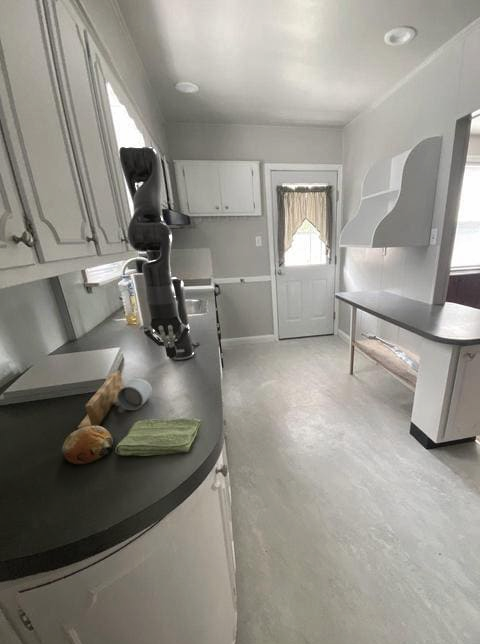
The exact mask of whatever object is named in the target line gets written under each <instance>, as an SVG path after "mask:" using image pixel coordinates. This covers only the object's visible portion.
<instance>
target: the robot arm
mask: <svg viewBox="0 0 480 644" xmlns="http://www.w3.org/2000/svg"><path fill="white" fill-rule="evenodd" d="M118 156H119V157H118V158H119V163H120V166H121V170H122V173H123V176H124V179H125V182H126V186H127V188H128V192H129V194H130V198H131V201H132V204H133V215H132V216H131V219H130V221H129V224H128V226H127V231H126V232H127V234H126V235H127V240H128V244H129V245H130V246H131V248H132V249H133V250H135V251H137V252H140V253H145V254H146V256H147V260H148V261H145V262H144V263H142V265H141V270H142V274H143V279H144V284H145V295H146V301H147V305H148V310H149V315H150V322H149V323H150V324H149V325H150V326H149V327H147V328H145V330H144V331H143V333H144V335H145V336H146V337H147V338H149V339H150V340H151V341H153V342H154V344H156V345H157V346H159V347H164V348H165V355H166V357H167V358H169V359H170V360H174V361H184V360H188V359H192V358H193V357H194V355H195V354H194V349H193V347H197V346H199V344H200V342H199V341H197V342H196V343H194V342H192V341H193V340H192V336H191V330H190V322H189V318H188V317H189V316H188V309H187V304H186V303H187V302H186V291H185V286H184V281H183V279H182V278H181V277H172V272H171V251H172V244H173V232H172V230H171V228H170V227H169V226H168V224H167V223H166V220H164V218H163V211H162V203H161V199H162V198H161V197H162V190H163V189H162V188H163V187H162V186H163V169H162V164H161V160H160V156H159V154H158V152H157V150H156V149H154V147H149V146H148V147H147V146H121V147H119V150H118ZM139 184H140V185H139ZM156 333H157V334H158V335H157V334H156ZM159 335H160V336H159Z"/></svg>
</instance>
